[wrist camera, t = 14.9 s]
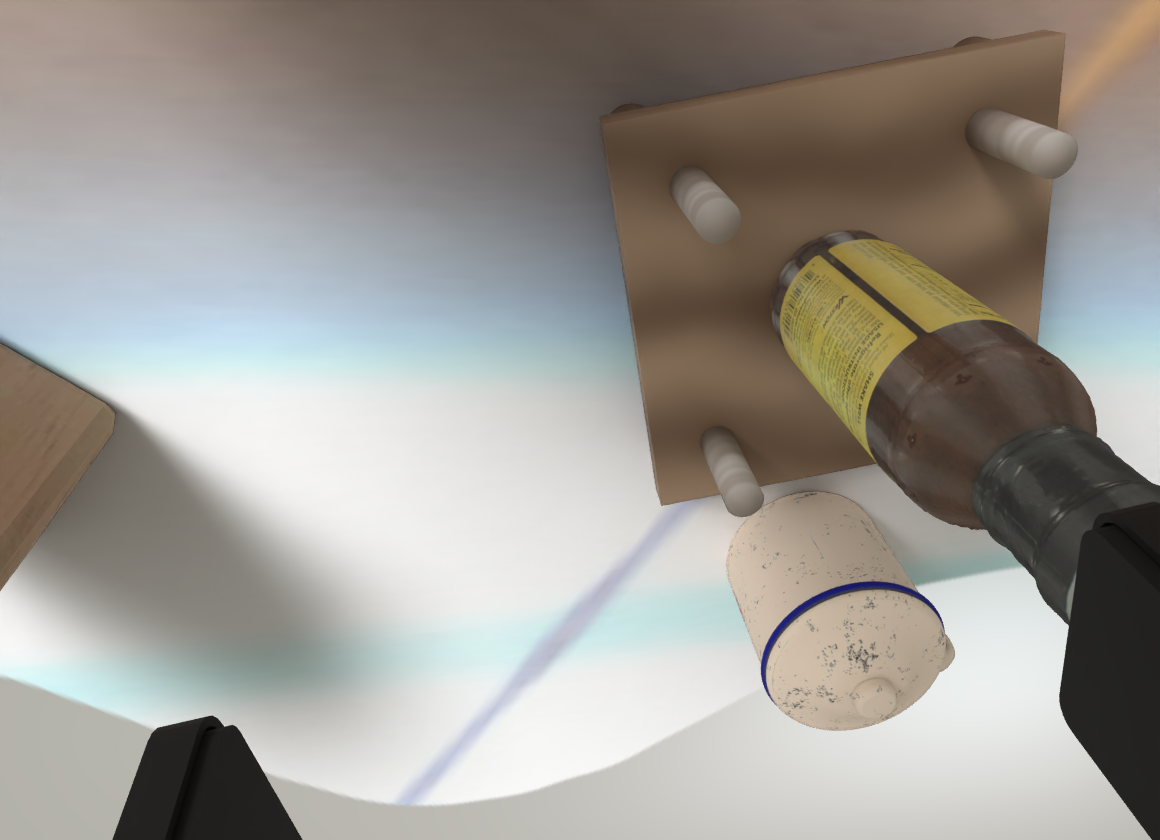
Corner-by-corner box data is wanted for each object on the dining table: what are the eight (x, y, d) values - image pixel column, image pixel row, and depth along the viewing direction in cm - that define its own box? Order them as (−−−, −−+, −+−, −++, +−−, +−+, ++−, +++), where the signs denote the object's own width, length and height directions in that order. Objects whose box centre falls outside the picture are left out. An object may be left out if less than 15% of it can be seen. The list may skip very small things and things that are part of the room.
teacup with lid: (693, 591, 52) (745, 753, 41) (769, 464, 48) (847, 608, 38) (865, 640, 55) (953, 802, 45) (949, 525, 51) (1066, 673, 41)
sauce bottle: (797, 383, 40) (1036, 726, 23) (741, 270, 38) (968, 564, 20) (929, 314, 39) (1284, 618, 22) (883, 192, 37) (1249, 432, 19)
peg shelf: (591, 103, 38) (622, 152, 30) (1005, 23, 38) (1151, 48, 30) (646, 457, 47) (682, 571, 39) (982, 391, 47) (1090, 490, 39)
